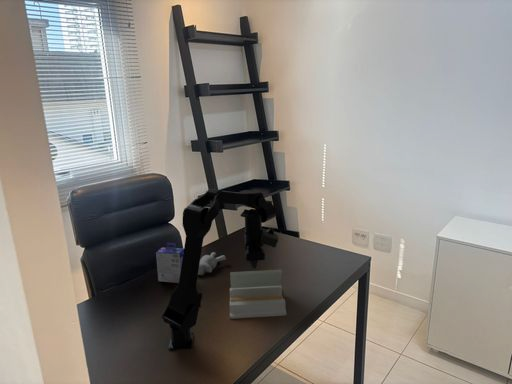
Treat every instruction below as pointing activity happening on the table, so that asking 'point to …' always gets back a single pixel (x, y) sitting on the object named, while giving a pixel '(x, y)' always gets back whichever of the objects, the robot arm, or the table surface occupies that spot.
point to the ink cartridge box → (169, 263)
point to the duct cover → (255, 278)
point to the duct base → (256, 302)
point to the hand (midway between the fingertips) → (254, 267)
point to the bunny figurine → (209, 263)
